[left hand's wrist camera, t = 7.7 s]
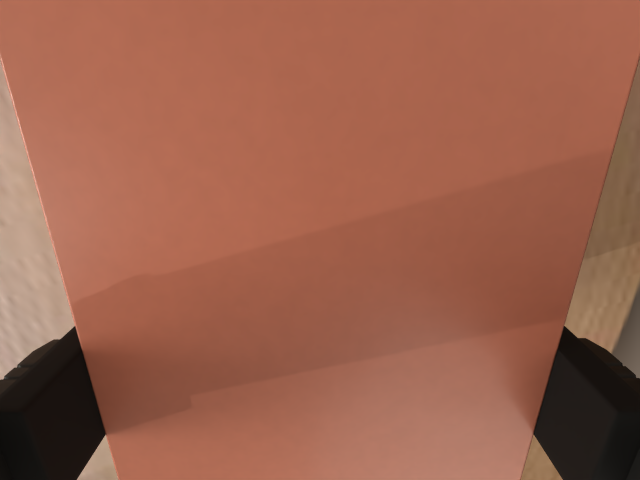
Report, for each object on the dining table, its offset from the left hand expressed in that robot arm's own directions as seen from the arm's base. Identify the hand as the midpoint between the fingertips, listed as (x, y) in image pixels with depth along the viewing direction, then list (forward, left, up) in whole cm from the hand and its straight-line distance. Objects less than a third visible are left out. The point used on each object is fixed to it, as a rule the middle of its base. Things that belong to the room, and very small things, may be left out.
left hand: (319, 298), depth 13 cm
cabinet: (+5, +1, -4) cm, 7 cm away
